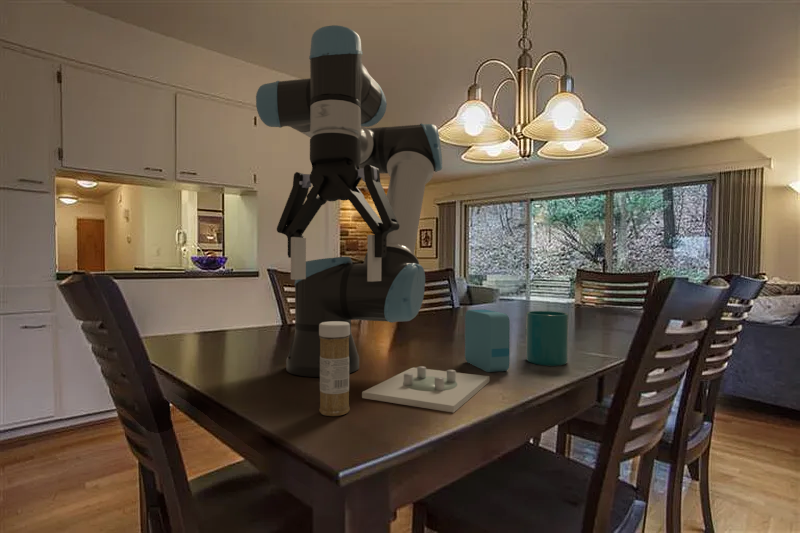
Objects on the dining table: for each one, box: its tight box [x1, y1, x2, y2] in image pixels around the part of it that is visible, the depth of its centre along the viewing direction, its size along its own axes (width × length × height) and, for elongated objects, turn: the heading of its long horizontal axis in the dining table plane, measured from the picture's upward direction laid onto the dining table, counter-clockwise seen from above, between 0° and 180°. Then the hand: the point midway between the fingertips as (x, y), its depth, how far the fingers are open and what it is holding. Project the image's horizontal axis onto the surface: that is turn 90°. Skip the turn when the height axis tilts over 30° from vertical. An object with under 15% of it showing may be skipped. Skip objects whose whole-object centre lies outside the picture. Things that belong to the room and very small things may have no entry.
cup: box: [525, 310, 569, 367], centre depth 104 cm, size 9×12×11 cm
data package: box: [464, 309, 511, 373], centre depth 98 cm, size 12×4×12 cm, turn 17°
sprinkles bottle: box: [318, 321, 351, 417], centre depth 67 cm, size 5×5×14 cm
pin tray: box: [361, 365, 490, 413], centre depth 80 cm, size 16×20×3 cm
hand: (334, 280), depth 67 cm, fingers open, 13 cm apart
